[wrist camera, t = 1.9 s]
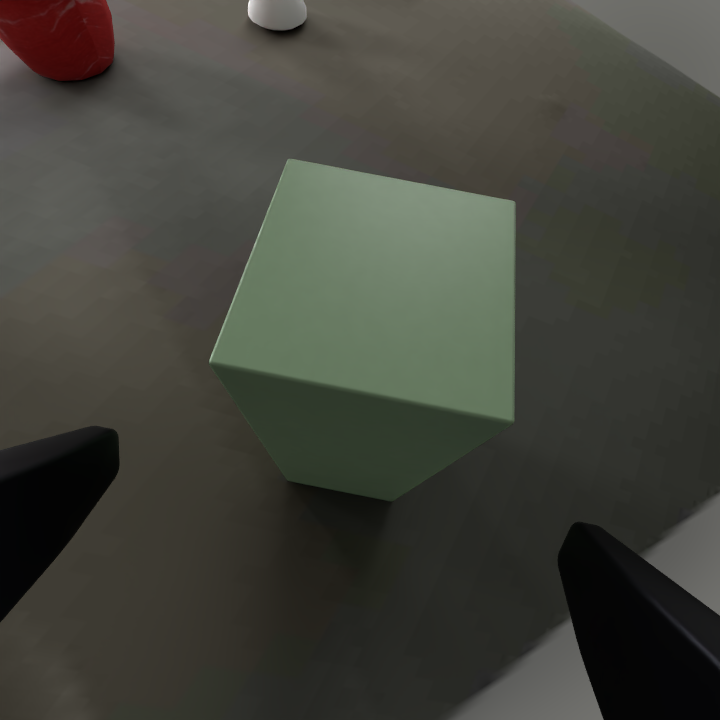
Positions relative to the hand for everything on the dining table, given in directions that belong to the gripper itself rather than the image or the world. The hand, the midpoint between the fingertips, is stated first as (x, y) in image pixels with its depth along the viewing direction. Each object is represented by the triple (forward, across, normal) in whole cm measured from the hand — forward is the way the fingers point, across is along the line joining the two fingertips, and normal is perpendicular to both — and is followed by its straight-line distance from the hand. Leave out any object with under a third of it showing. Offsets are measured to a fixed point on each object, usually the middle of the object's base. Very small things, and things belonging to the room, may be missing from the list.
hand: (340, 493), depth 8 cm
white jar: (+36, +13, -20) cm, 43 cm away
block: (+10, 0, +5) cm, 11 cm away
